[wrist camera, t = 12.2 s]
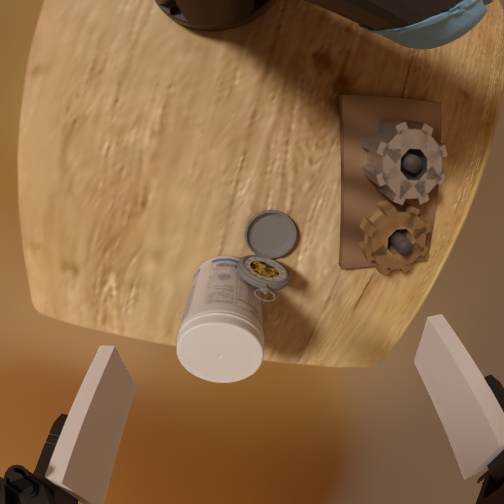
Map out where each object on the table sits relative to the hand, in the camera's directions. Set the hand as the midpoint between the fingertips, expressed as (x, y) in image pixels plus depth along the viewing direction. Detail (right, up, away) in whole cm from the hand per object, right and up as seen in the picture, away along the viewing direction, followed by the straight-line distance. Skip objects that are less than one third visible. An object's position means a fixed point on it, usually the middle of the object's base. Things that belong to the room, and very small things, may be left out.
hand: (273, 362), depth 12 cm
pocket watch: (+1, +6, +29) cm, 30 cm away
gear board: (+17, +13, +25) cm, 34 cm away
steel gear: (+17, +16, +22) cm, 32 cm away
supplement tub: (-4, 0, +32) cm, 33 cm away
